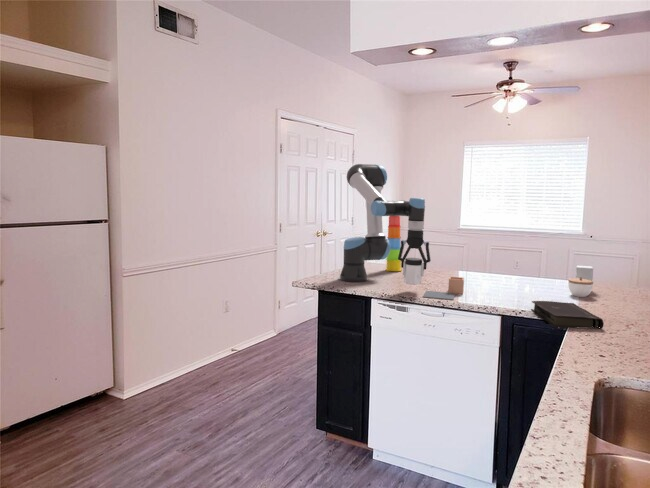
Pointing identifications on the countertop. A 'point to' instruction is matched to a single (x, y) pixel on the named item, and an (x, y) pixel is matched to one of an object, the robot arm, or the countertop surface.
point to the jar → (413, 271)
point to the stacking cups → (394, 244)
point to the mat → (439, 295)
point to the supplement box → (584, 272)
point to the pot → (456, 285)
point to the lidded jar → (580, 286)
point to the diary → (565, 315)
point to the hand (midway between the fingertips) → (413, 275)
